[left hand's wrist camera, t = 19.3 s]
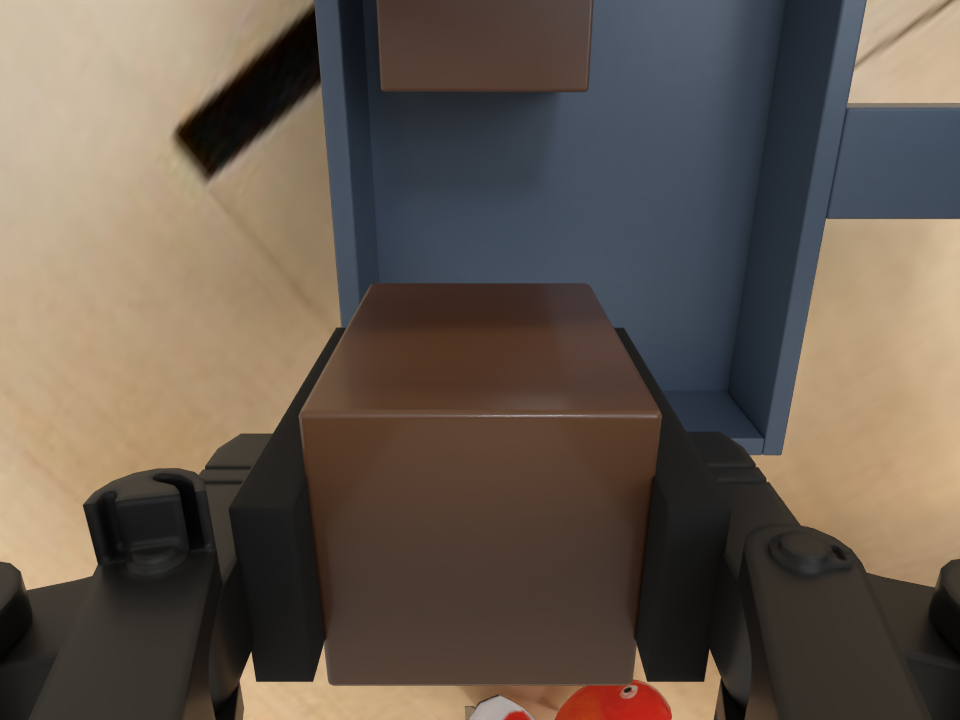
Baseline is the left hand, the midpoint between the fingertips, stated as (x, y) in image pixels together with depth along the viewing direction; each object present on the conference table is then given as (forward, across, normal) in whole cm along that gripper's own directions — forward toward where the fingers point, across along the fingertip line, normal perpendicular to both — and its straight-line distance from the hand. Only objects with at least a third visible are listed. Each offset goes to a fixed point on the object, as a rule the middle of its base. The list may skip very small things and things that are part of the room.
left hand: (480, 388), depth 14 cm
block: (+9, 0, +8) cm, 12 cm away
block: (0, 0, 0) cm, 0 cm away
